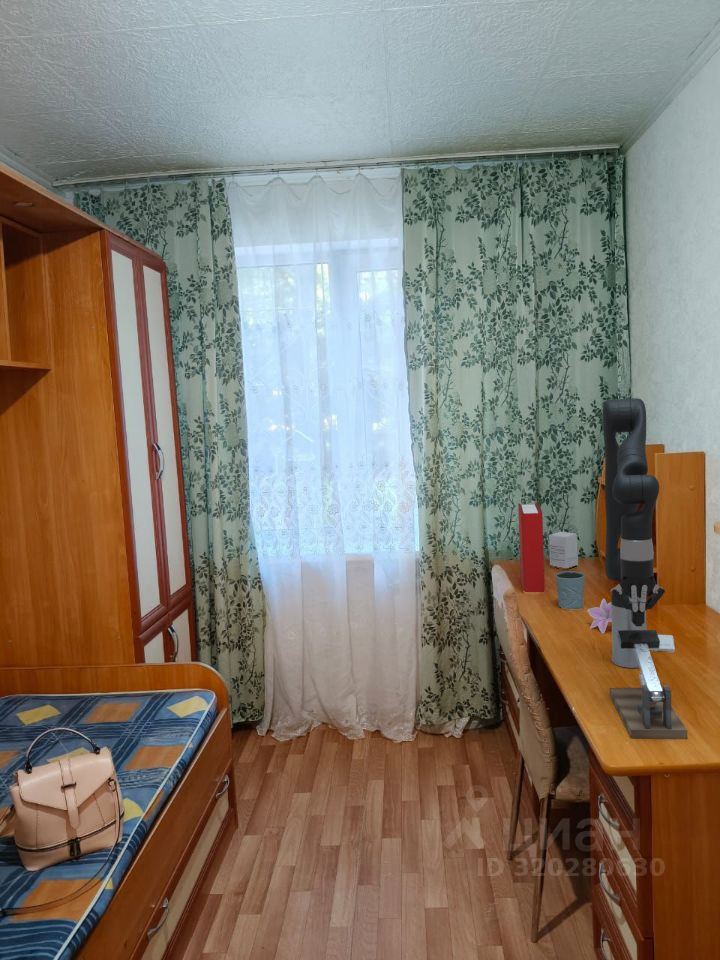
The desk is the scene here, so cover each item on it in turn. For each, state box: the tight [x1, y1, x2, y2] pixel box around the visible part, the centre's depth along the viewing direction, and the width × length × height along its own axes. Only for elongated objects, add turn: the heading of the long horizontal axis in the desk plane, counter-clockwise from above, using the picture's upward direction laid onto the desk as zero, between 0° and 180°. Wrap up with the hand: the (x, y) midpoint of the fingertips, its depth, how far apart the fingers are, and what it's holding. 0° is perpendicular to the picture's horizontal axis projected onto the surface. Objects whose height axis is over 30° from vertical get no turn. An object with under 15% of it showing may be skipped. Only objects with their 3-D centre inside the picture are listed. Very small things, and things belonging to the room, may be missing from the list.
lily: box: [587, 598, 612, 635], centre depth 242 cm, size 12×12×10 cm
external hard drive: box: [649, 634, 676, 653], centre depth 225 cm, size 2×8×12 cm
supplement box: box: [548, 531, 579, 568], centre depth 326 cm, size 9×9×15 cm
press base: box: [609, 684, 688, 740], centre depth 177 cm, size 24×12×11 cm, turn 173°
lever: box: [617, 629, 665, 702], centre depth 175 cm, size 21×9×4 cm, turn 173°
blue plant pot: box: [555, 570, 586, 610], centre depth 267 cm, size 10×10×12 cm
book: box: [517, 502, 546, 592], centre depth 298 cm, size 27×8×32 cm, turn 170°
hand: (637, 625), depth 182 cm, fingers closed
